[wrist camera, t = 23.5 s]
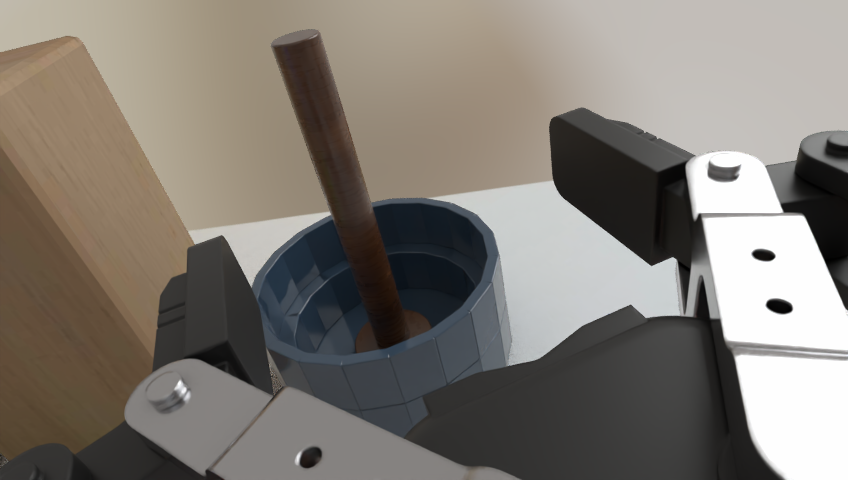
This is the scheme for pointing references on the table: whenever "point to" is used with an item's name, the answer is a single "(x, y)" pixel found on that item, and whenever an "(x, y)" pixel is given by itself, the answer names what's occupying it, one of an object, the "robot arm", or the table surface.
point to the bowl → (418, 291)
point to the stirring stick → (344, 188)
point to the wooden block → (75, 251)
